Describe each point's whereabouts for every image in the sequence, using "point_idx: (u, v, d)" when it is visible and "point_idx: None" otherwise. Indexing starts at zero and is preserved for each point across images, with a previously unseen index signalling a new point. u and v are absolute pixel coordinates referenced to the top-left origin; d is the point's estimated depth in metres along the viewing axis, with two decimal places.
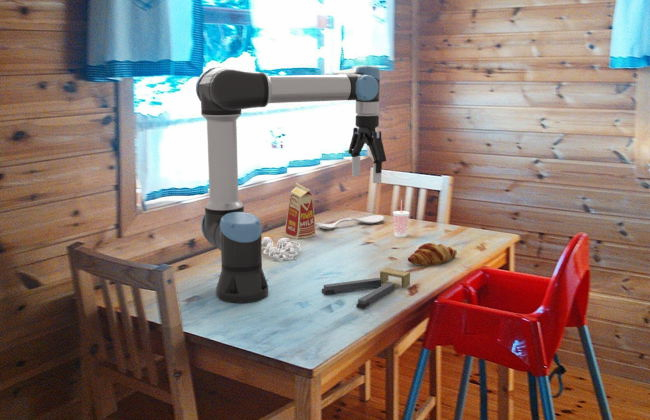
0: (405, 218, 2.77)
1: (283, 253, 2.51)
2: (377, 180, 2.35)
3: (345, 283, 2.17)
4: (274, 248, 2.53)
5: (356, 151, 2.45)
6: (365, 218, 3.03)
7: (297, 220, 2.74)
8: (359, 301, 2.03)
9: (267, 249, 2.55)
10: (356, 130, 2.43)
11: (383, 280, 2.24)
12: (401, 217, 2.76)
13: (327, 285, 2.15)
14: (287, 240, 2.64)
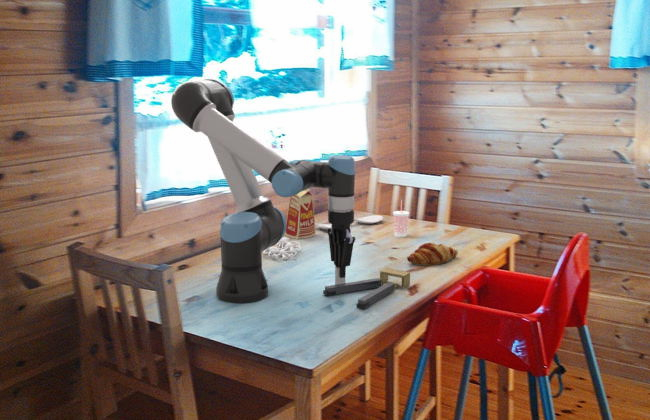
0: (405, 218, 2.77)
1: (283, 253, 2.52)
2: None
3: (346, 284, 2.16)
4: (274, 248, 2.53)
5: (338, 256, 2.16)
6: (364, 218, 3.02)
7: (297, 220, 2.74)
8: (359, 301, 2.03)
9: (267, 249, 2.55)
10: (330, 230, 2.18)
11: (383, 280, 2.24)
12: (401, 217, 2.76)
13: (329, 286, 2.14)
14: (287, 240, 2.65)
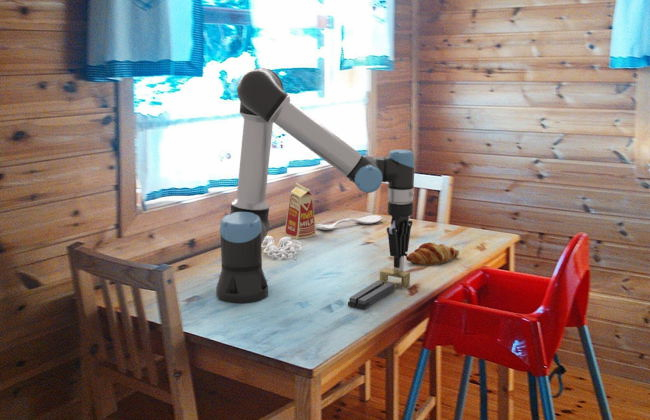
0: None
1: (282, 252, 2.53)
2: None
3: (364, 291, 2.10)
4: (274, 247, 2.54)
5: None
6: (362, 218, 3.02)
7: (297, 220, 2.74)
8: (359, 301, 2.03)
9: (267, 248, 2.56)
10: None
11: (383, 280, 2.24)
12: None
13: (354, 297, 2.05)
14: (289, 239, 2.65)
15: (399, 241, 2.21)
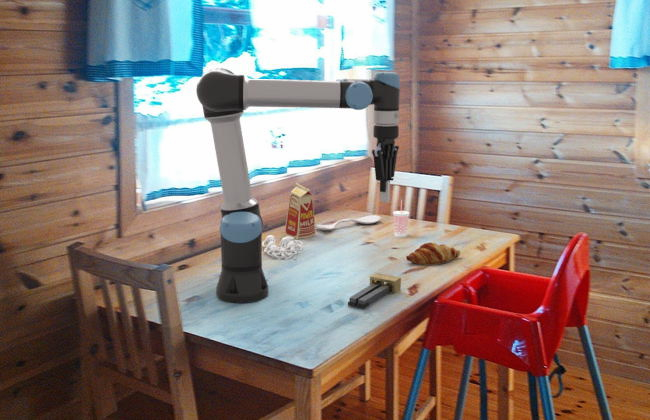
0: (405, 218, 2.77)
1: (282, 252, 2.53)
2: (383, 199, 2.24)
3: (364, 291, 2.10)
4: (274, 246, 2.55)
5: None
6: (361, 218, 3.02)
7: (297, 220, 2.74)
8: (359, 301, 2.03)
9: (268, 247, 2.57)
10: None
11: None
12: (401, 217, 2.76)
13: (354, 297, 2.05)
14: (291, 239, 2.66)
15: (385, 164, 2.20)
